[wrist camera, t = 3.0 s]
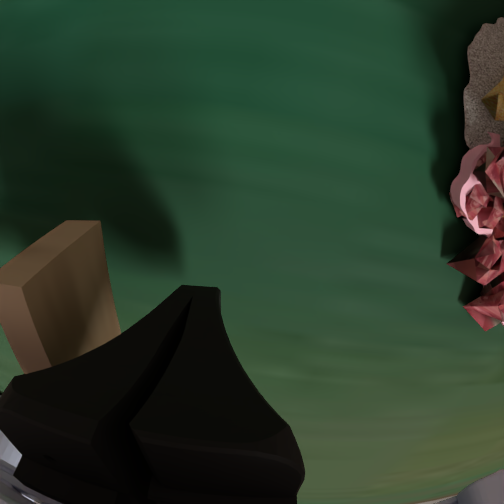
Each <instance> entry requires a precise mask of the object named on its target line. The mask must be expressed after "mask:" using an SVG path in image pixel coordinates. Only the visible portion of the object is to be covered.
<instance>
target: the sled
mask: <svg viewBox="0 0 504 504" xmlns="http://www.w3.org/2000/svg"><path fill="white" fill-rule="evenodd" d="M0 323H1V325H2V328H3V330H4V332H5V335H6V337H7V339H8V341H9V344H10V346H11V348H12V350H13V352H14V354H15V356H16V358H17V360H18V362H19V364H20V366H21V368H22V370H23V372H24V374H27V373H31V372H35V371H39V370H43V369H46V368H49V367H52V366H55V365H58V364H61V363H64V362H66V361H69V360H71V359H74V358H76V357H79V356H81V355H83V354H85V353H87V352H89V351H91V350H93V349H95V348H97V347H99V346H101V345H103V344H105V343H107V342H108V341H110V340H112V339H113V338H115V337H117V336H118V335H120V334H121V330H120V326H119V322H118V318H117V313H116V309H115V304H114V299H113V294H112V289H111V284H110V279H109V273H108V268H107V262H106V256H105V249H104V243H103V235H102V228H101V221H88V220H66V221H65V222H63V223H62V224H60V225H59V226H57V227H56V228H54V229H53V230H51V231H50V232H48V233H47V234H46V235H44V236H43V237H41V238H40V239H38V240H37V241H36V242H34V243H33V244H32V245H30V246H29V247H27V248H26V249H25V250H23V251H22V252H21V253H19V254H18V255H17V256H15V257H14V258H13V259H11V260H10V261H9V262H8V263H6V264H5V265H4V266H3V267H1V268H0Z"/></svg>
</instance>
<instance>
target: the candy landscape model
mask: <svg viewBox="0 0 504 504" xmlns="http://www.w3.org/2000/svg"><path fill="white" fill-rule="evenodd" d="M467 56H468V63H469V70H470V81H469V84H468V85H467V86H466V88H465V89H464V111H465V133H464V135H465V141H466V144H467V146H468V147H469V148H470V150H469V151H468V152H467V153H466V154H465V155H464V156H463V158H462V161H461V168H460V172H459V174H458V176H457V177H456V178H455V179H454V180H453V182H452V184H451V189H450V192H449V195H450V199H451V202H452V204H453V206H454V209H455V212H456V214H457V217H458V218H462V219H463V220H464V222H465V224H466V226H467V227H469V228H470V229H472V230H473V231H475V232H476V233H477V234H479V237H478V238H477V239H476V240H475V241H474V242H473V243H471V244H470V245H469V246H468V247H467V248H465V249H464V250H463V251H462V252H461V253H459V254H458V255H457V256H456V257H454V258H453V259H452V260H451V261H449V262H448V263H447V264H448V265H449V266H451V267H453V268H455V269H456V270H458V271H460V272H461V273H463V274H465V275H467V276H468V277H470V278H472V279H473V280H475V281H477V282H479V283H481V284H483V289H482V291H481V292H480V295H481V296H480V297H478V298H477V299H475V300H473V301H472V302H470V303H468V304H467V305H465V306H463V307H464V308H465V309H466V310H467V311H468V312H469V314H470V315H471V316H472V317H473V318H474V319H475V320H476V321H477V322H478V323H479V325H480V326H481V327H482V328H483V329H484V330H485V331H487V330H489V329H490V328H492V327H494V326H496V325H497V324H499V323H502V325H503V326H504V18H502V17H500V18H498V19H497V22H496V23H495V24H488V23H485V24H483V25H482V27H481V29H480V31H479V32H478V33H477V34H476V35H475V38H474V40H473V42H472V43H471V44H470V45H469V46H468V50H467Z"/></svg>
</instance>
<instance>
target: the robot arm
mask: <svg viewBox="0 0 504 504" xmlns="http://www.w3.org/2000/svg"><path fill="white" fill-rule="evenodd" d="M304 477H305V468H304V463H303V459H302V456H301V452H300V450H299V447H298V444H297V442H296V439H295V437H294V435H293V433H292V430H291V428H290V426H289V425H288V424H287V423H286V422H285V421H284V420H283V419H282V418H281V417H280V416H279V415H278V414H277V413H276V411H275V410H274V409H273V408H272V407H271V406H270V405H269V404H268V402H267V401H266V400H265V399H264V398H263V396H262V395H261V394H260V393H259V391H258V390H257V388H256V387H255V386H254V384H253V383H252V381H251V380H250V378H249V377H248V375H247V374H246V372H245V371H244V369H243V367H242V366H241V364H240V362H239V360H238V358H237V356H236V354H235V352H234V350H233V348H232V346H231V343H230V341H229V338H228V336H227V333H226V330H225V327H224V324H223V320H222V316H221V291H220V290H219V289H218V288H217V287H204V286H189V285H181V286H180V287H179V288H178V289H177V290H175V291H174V292H173V293H172V294H171V295H170V296H169V297H167V298H166V299H165V300H164V301H163V302H162V303H161V304H159V305H158V306H157V307H156V308H155V309H153V310H152V311H151V312H150V313H149V314H147V315H146V316H145V317H143V318H142V319H141V320H139V321H138V322H137V323H136V324H134V325H133V326H132V327H130V328H129V329H127V330H126V331H124V332H123V333H121V334H120V335H118V336H117V337H115V338H113V339H112V340H110V341H108V342H107V343H105V344H103V345H101V346H99V347H97V348H95V349H93V350H91V351H89V352H87V353H85V354H83V355H81V356H79V357H76V358H74V359H71V360H69V361H66V362H64V363H61V364H58V365H55V366H52V367H49V368H46V369H43V370H39V371H35V372H31V373H27V374H23V375H19V376H14V378H13V379H12V380H11V382H10V383H9V385H8V386H7V388H6V389H5V391H4V392H3V394H2V395H0V504H36V503H34V501H36V502H38V503H40V504H297V493H298V491H299V489H300V487H301V485H302V483H303V481H304ZM434 504H504V470H503V469H501V470H499V471H497V472H495V473H493V474H491V475H488V476H486V477H484V478H481V479H479V480H477V481H475V482H473V483H472V484H470V485H468V486H467V487H465V488H464V489H463V490H462V491H461V492H459V493H458V495H457V496H455V497H452V498H449V499H446V500H443V501H440V502H438V503H434Z"/></svg>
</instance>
